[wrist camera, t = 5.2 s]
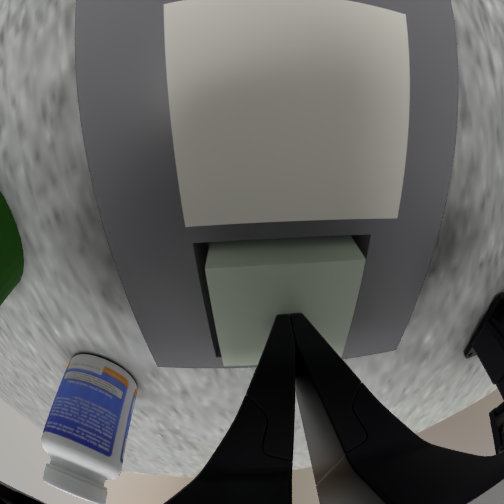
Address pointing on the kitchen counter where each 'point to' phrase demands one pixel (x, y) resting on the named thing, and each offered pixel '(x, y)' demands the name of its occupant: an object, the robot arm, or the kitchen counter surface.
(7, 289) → the candle
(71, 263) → the kitchen counter surface
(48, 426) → the pill bottle
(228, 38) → the key white
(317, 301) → the key sage
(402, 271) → the keypad
